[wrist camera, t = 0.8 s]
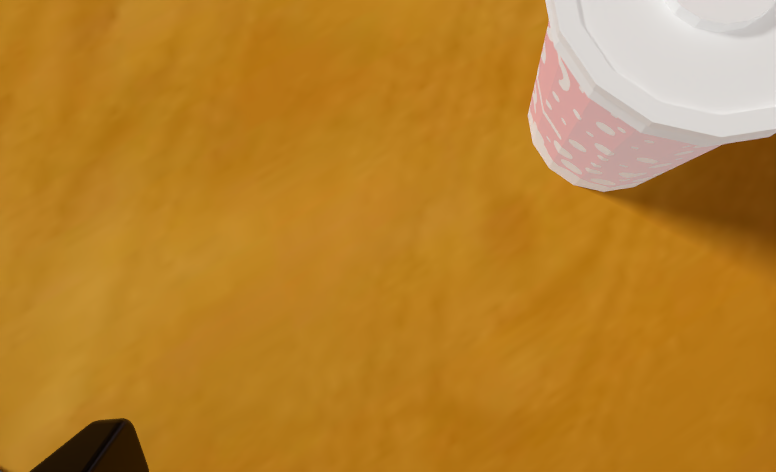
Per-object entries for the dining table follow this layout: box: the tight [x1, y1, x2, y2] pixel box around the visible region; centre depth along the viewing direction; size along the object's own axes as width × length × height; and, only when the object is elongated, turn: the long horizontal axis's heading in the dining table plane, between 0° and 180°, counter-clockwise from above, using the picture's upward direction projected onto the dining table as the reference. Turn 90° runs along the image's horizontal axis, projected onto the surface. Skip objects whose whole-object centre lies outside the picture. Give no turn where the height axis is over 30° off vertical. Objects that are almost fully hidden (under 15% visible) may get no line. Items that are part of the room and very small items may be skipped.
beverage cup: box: [528, 0, 776, 192], centre depth 15 cm, size 6×6×14 cm
